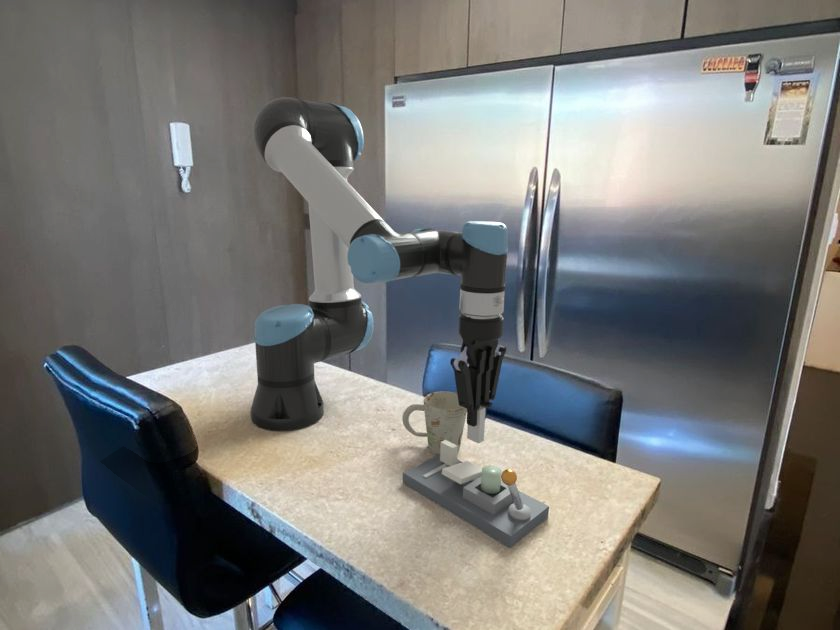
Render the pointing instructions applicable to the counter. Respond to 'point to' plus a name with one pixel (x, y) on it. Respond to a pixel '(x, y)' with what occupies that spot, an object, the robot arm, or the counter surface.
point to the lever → (512, 487)
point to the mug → (439, 419)
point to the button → (491, 479)
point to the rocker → (462, 472)
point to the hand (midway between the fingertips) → (475, 439)
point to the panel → (477, 502)
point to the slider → (448, 453)
